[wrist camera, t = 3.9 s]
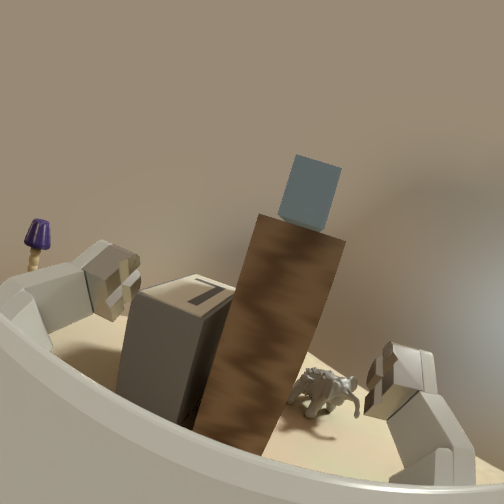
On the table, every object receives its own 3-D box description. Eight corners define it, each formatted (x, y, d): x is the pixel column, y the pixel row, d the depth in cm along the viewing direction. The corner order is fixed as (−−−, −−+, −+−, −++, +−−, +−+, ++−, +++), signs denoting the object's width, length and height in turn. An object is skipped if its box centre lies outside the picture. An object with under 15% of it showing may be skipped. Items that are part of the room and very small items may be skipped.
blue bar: (315, 234, 38) (324, 204, 38) (324, 229, 19) (341, 168, 18) (292, 227, 39) (301, 197, 39) (277, 214, 19) (296, 154, 19)
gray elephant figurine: (301, 391, 51) (314, 353, 51) (361, 416, 45) (378, 377, 44) (276, 408, 43) (290, 366, 43) (346, 440, 37) (366, 397, 36)
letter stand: (216, 375, 48) (243, 289, 46) (173, 434, 30) (204, 318, 29) (172, 357, 49) (194, 272, 48) (114, 404, 31) (133, 289, 30)
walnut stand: (274, 396, 46) (330, 240, 44) (255, 466, 28) (345, 241, 26) (227, 380, 47) (277, 224, 45) (189, 441, 30) (258, 213, 27)
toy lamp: (19, 310, 42) (31, 215, 40) (42, 315, 44) (56, 221, 43) (14, 321, 37) (25, 219, 36) (39, 327, 40) (52, 225, 38)
